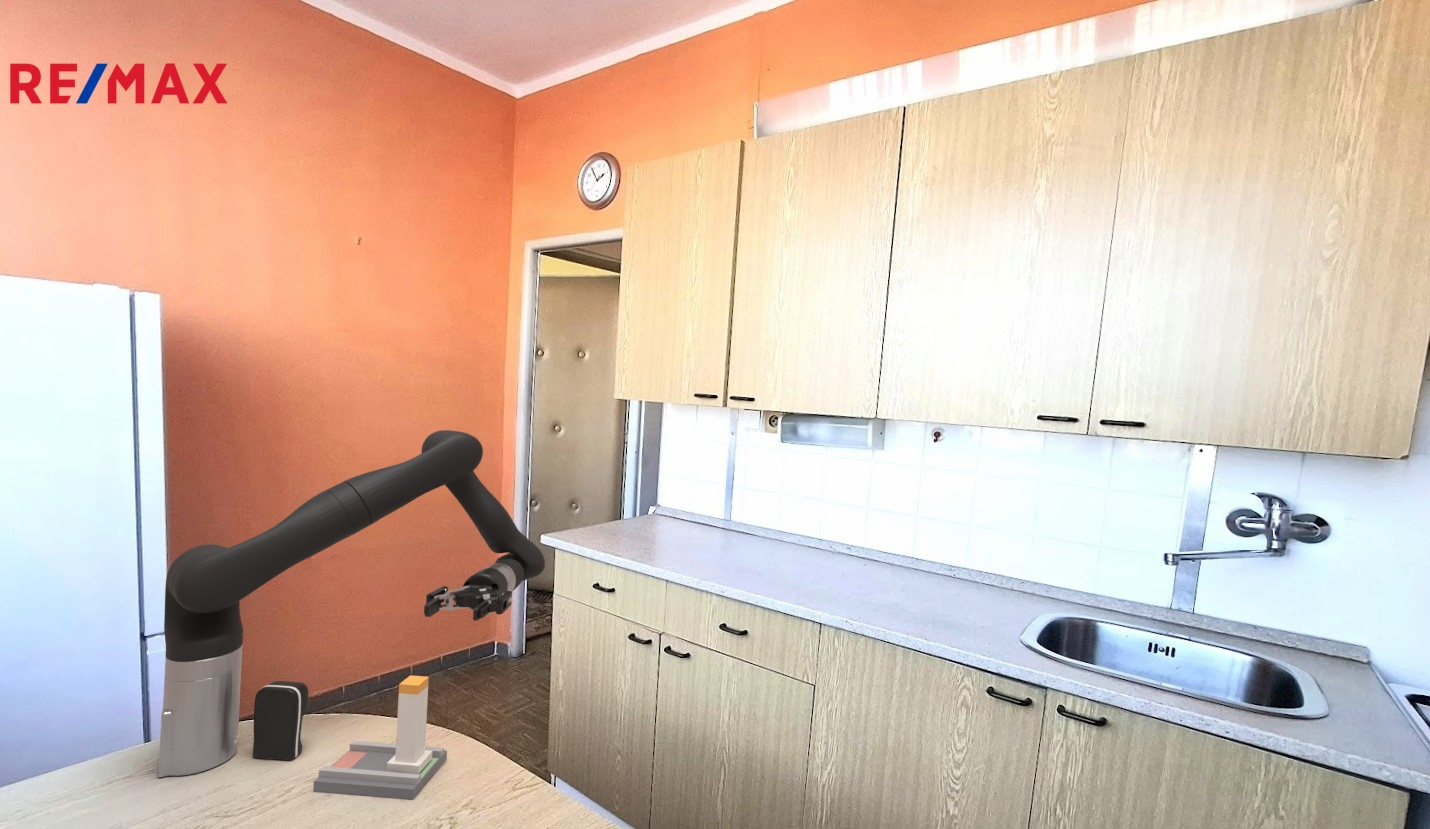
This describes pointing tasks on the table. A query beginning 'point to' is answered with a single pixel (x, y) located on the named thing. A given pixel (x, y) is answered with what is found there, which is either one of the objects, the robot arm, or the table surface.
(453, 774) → the table surface
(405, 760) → the switch handle
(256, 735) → the battery charger
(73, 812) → the table surface
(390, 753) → the switch panel
